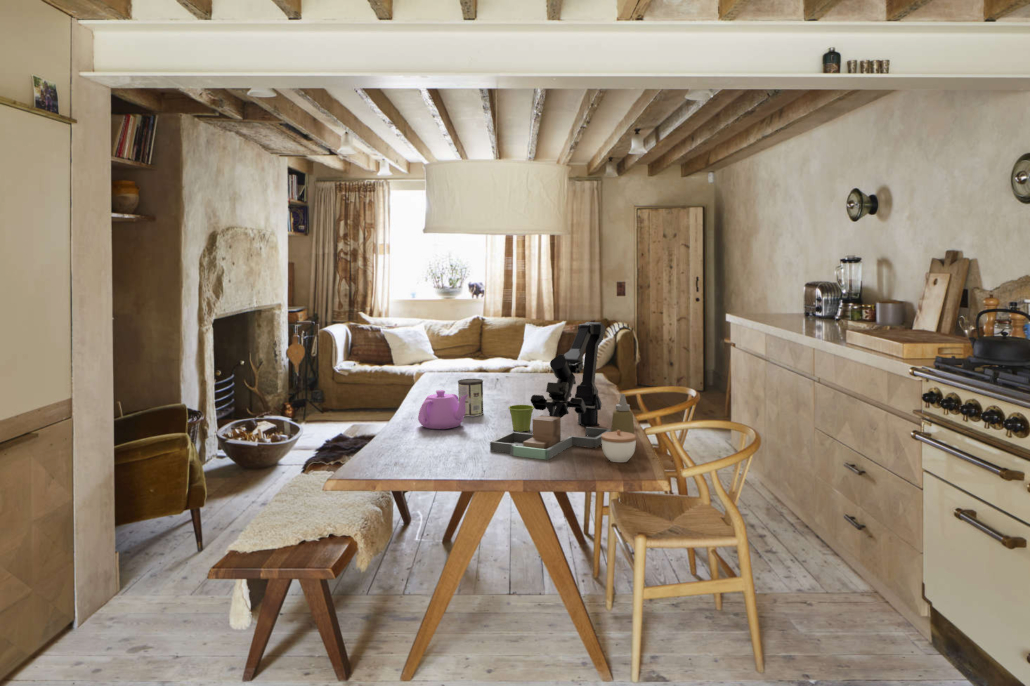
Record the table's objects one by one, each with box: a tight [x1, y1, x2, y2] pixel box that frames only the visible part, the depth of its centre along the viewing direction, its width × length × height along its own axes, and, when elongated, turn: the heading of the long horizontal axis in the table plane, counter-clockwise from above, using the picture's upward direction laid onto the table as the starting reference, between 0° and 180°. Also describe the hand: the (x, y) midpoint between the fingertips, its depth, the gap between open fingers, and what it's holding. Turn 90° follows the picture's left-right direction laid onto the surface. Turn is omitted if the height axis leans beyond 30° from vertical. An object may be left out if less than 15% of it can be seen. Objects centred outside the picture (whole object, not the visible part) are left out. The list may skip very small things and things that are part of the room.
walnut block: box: [523, 414, 562, 449], centre depth 228 cm, size 14×7×10 cm, turn 153°
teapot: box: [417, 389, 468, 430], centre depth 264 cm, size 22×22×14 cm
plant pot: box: [508, 404, 535, 433], centre depth 258 cm, size 9×9×9 cm
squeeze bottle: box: [610, 393, 635, 434], centre depth 230 cm, size 8×8×18 cm
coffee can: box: [457, 378, 484, 417], centre depth 287 cm, size 10×10×14 cm
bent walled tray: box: [489, 426, 611, 461], centre depth 236 cm, size 36×30×3 cm
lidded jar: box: [601, 430, 637, 463], centre depth 216 cm, size 11×11×9 cm
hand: (551, 424), depth 234 cm, fingers closed, pressing on walnut block
